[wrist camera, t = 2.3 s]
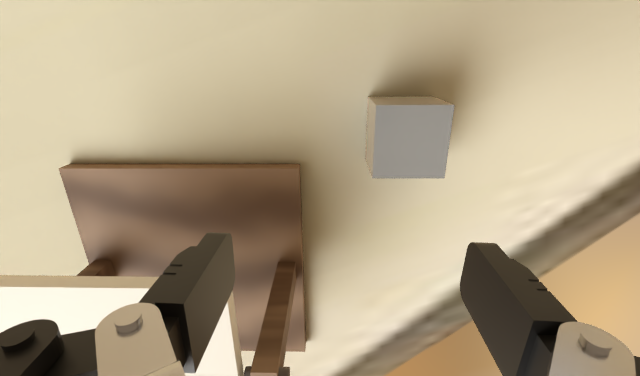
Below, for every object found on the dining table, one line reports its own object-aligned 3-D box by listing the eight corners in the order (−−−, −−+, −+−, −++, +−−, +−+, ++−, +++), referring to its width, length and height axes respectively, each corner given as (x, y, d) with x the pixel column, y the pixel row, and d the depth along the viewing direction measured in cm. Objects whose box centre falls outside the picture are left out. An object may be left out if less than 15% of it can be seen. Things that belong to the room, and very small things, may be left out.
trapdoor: (-12, 275, 19) (-32, 287, 18) (230, 277, 18) (225, 290, 17) (61, 434, 24) (49, 451, 23) (252, 438, 24) (248, 456, 23)
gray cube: (367, 96, 26) (376, 105, 21) (432, 96, 26) (454, 104, 21) (365, 157, 28) (372, 178, 23) (425, 157, 28) (444, 178, 23)
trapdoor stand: (69, 164, 29) (-112, 239, 17) (299, 164, 28) (278, 241, 16) (122, 339, 36) (22, 476, 24) (305, 342, 35) (294, 483, 24)
